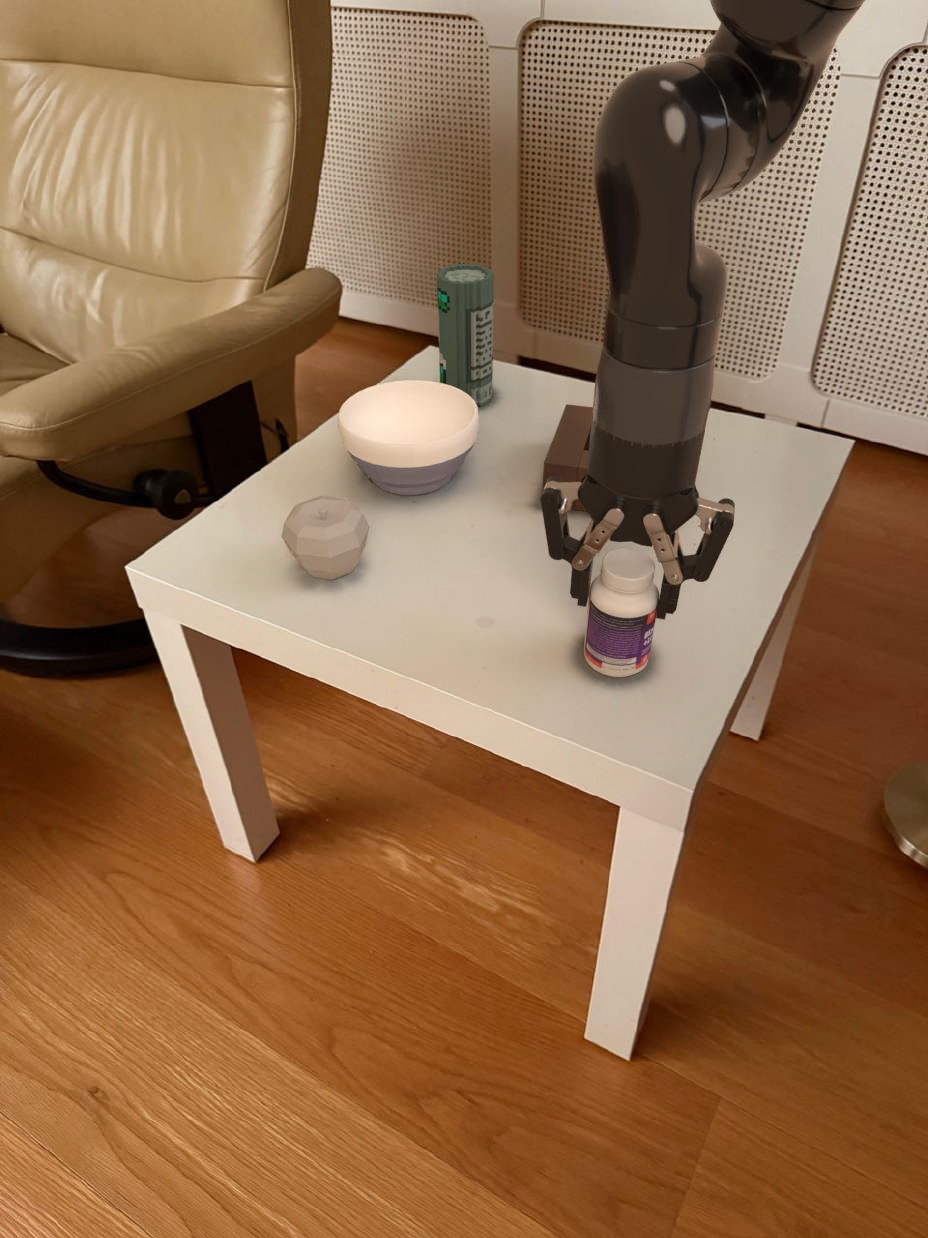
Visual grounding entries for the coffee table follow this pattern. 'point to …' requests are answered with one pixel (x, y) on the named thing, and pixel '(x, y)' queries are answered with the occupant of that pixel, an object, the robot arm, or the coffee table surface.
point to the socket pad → (570, 448)
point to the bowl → (409, 433)
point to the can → (466, 329)
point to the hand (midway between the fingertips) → (622, 605)
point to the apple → (326, 536)
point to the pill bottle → (621, 614)
